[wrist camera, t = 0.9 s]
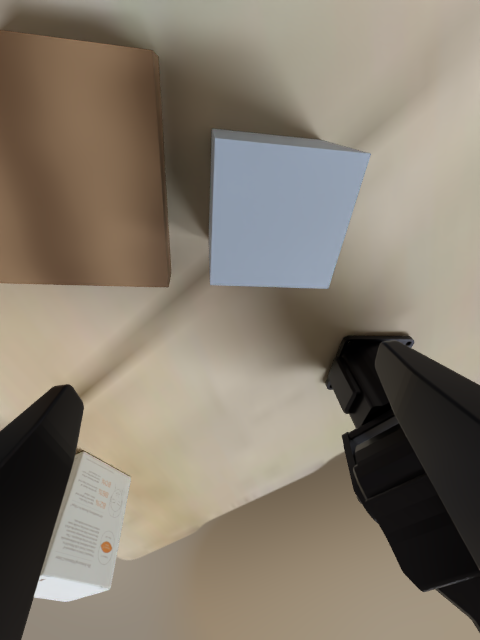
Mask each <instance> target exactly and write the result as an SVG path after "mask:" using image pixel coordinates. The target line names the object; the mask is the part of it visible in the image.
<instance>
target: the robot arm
mask: <svg viewBox="0 0 480 640" xmlns="http://www.w3.org/2000/svg"><path fill="white" fill-rule="evenodd" d="M349 341H350V342H349ZM413 344H414V340H413V339H412V338H411V337H409V336H347V337H345V338H344V339H343V341H342V343H341V346H340V348H339V351H338V353H337V356H336V358H335V359H334V362H333V364H332V367H331V369H330V372H329V374H328V378H327V381H326V387H327V389H329V390H334V392H335V394H336V397H337V399H338V401H339V403H340V405H341V408H342V410H343V412H344V413H345V414H350V417H351V419H352V421H353V423H354V425H355V427H356V429H354V430H353V431H351V432H347V433H345V434H343V435H342V439H343V443H344V450H345V454H346V458H347V463H348V467H349V471H350V475H351V480H352V485H353V489H354V492H355V494H356V495H357V498H358V500H359V502H360V503H361V504H363V506H364V508H365V509H366V511H367V512H368V513H369V514H370V516H371V517H372V518H373V519H374V520H375V521H376V522H377V523H378V524H379V525H380V527H381V529H382V530H383V532H384V534H385V536H386V538H387V540H388V542H389V544H390V546H391V548H392V550H393V552H394V554H395V557H396V558H397V561H398V563H399V565H400V567H401V569H402V571H403V573H404V574H405V575H406V576H407V577H408V578H409V579H410V580H411V581H412V582H413V583H414V584H415V585H416V586H417V587H418V588H419V589H420V590H421V591H423V592H427V591H430V590H434V589H436V590H437V591H438V592H439V593H440V594H441V595H443V596H444V597H445V598H446V599H448V600H449V601H450V602H451V603H453V604H454V605H455V606H456V607H457V608H458V609H460V610H461V611H462V612H463V613H464V614H466V615H467V616H468V617H469V618H470V619H471V620H472V621H473V623H474V624H475V626H476V627H477V629H478V631H479V632H480V385H478V384H477V383H475V382H473V381H471V380H469V379H467V378H465V377H464V376H462V375H460V374H458V373H456V372H454V371H453V370H451V369H449V368H447V367H445V366H443V365H441V364H440V363H438V362H436V361H434V360H432V359H430V358H428V357H427V356H425V355H423V354H421V353H419V352H417V351H415V350H414V349H412V348H411V347H412V346H413ZM83 410H84V405H83V402H82V400H81V399H80V397H79V396H78V394H77V393H76V391H75V390H74V388H73V387H72V386H71V385H69V384H66V385H58V386H54V387H52V388H51V389H50V390H49V391H47V392H46V393H45V394H44V395H43V396H42V397H40V398H39V399H38V400H37V401H36V402H34V403H33V404H32V405H31V406H30V407H29V408H27V409H26V410H25V411H24V412H23V413H21V414H20V415H19V416H18V417H17V418H16V419H14V420H13V421H12V422H11V423H10V424H8V425H7V426H6V427H5V428H4V429H3V430H1V431H0V640H21V638H22V635H23V631H24V628H25V625H26V621H27V618H28V614H29V611H30V608H31V605H32V601H33V598H34V594H35V591H36V588H37V584H38V581H39V578H40V574H41V571H42V567H43V564H44V561H45V557H46V554H47V551H48V547H49V544H50V541H51V537H52V534H53V530H54V527H55V524H56V520H57V517H58V514H59V510H60V507H61V503H62V500H63V497H64V493H65V490H66V487H67V483H68V480H69V476H70V473H71V470H72V466H73V462H74V458H75V454H76V448H77V443H78V437H79V432H80V427H81V421H82V416H83Z"/></svg>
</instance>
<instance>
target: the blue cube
mask: <svg viewBox="0 0 480 640" xmlns="http://www.w3.org/2000/svg"><path fill="white" fill-rule="evenodd" d="M370 155H371V154H370V153H366V152H363V151H359V150H356V149H352V148H348V147H345V146H341V145H338V144H334V143H331V142H327V141H323V140H318V139H308V138H299V137H289V136H279V135H270V134H260V133H251V132H241V131H231V130H222V129H212V136H211V172H210V208H209V267H210V285H224V286H257V287H289V288H322V289H328V288H329V285H330V282H331V279H332V276H333V272H334V269H335V266H336V263H337V260H338V257H339V253H340V250H341V247H342V244H343V241H344V238H345V234H346V231H347V228H348V225H349V222H350V219H351V215H352V212H353V209H354V206H355V203H356V199H357V196H358V193H359V190H360V187H361V184H362V180H363V177H364V174H365V171H366V168H367V165H368V161H369V158H370Z"/></svg>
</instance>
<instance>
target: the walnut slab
mask: <svg viewBox="0 0 480 640" xmlns="http://www.w3.org/2000/svg"><path fill="white" fill-rule="evenodd" d="M170 277H171V259H170V242H169V225H168V208H167V191H166V175H165V158H164V141H163V124H162V107H161V90H160V74H159V57H158V56H157V55H156V54H155V53H154V52H153V50H147V49H140V48H132V47H125V46H117V45H110V44H102V43H95V42H87V41H80V40H72V39H65V38H57V37H50V36H42V35H35V34H27V33H20V32H12V31H5V30H0V283H14V284H54V285H94V286H135V287H169V282H170Z"/></svg>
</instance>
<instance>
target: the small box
mask: <svg viewBox="0 0 480 640" xmlns="http://www.w3.org/2000/svg"><path fill="white" fill-rule="evenodd" d="M130 482H131V477H130V476H128V475H126V474H124V473H122V472H121V471H119V470H117V469H115V468H113V467H112V466H110V465H108V464H106V463H104V462H103V461H101V460H99V459H97V458H95V457H93V456H92V455H90V454H88V453H86V452H84V451H83V452H81V453H78V454H76V455H75V458H74V462H73V466H72V470H71V473H70V476H69V480H68V483H67V487H66V490H65V493H64V497H63V500H62V503H61V507H60V510H59V514H58V517H57V520H56V524H55V527H54V530H53V534H52V537H51V541H50V544H49V547H48V551H47V554H46V557H45V561H44V564H43V567H42V571H41V574H40V578H39V581H38V584H37V588H36V591H35V594H34V597H36V598H43V599H50V600H57V601H63V602H68V601H72V600H76V599H79V598H82V597H86V596H89V595H93V594H96V593H100V592H103V591H107V590H109V589H110V588H111V583H112V577H113V572H114V567H115V562H116V557H117V551H118V546H119V541H120V535H121V530H122V525H123V519H124V514H125V508H126V503H127V498H128V492H129V487H130Z"/></svg>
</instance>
